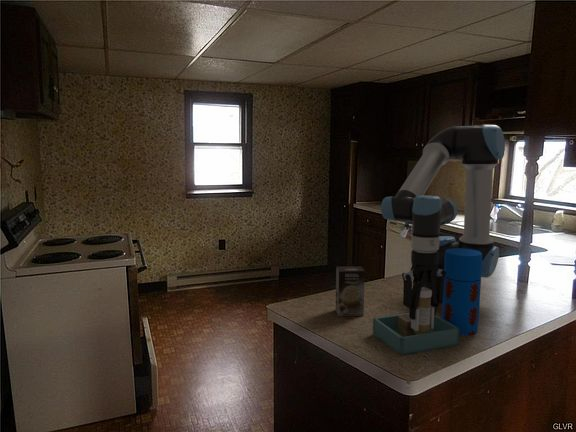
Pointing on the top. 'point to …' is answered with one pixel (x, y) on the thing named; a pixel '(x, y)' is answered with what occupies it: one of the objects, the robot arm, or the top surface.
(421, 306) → the sprinkles bottle
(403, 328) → the walnut cube
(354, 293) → the coffee box
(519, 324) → the top surface
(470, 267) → the thermos
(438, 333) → the tote
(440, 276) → the robot arm
